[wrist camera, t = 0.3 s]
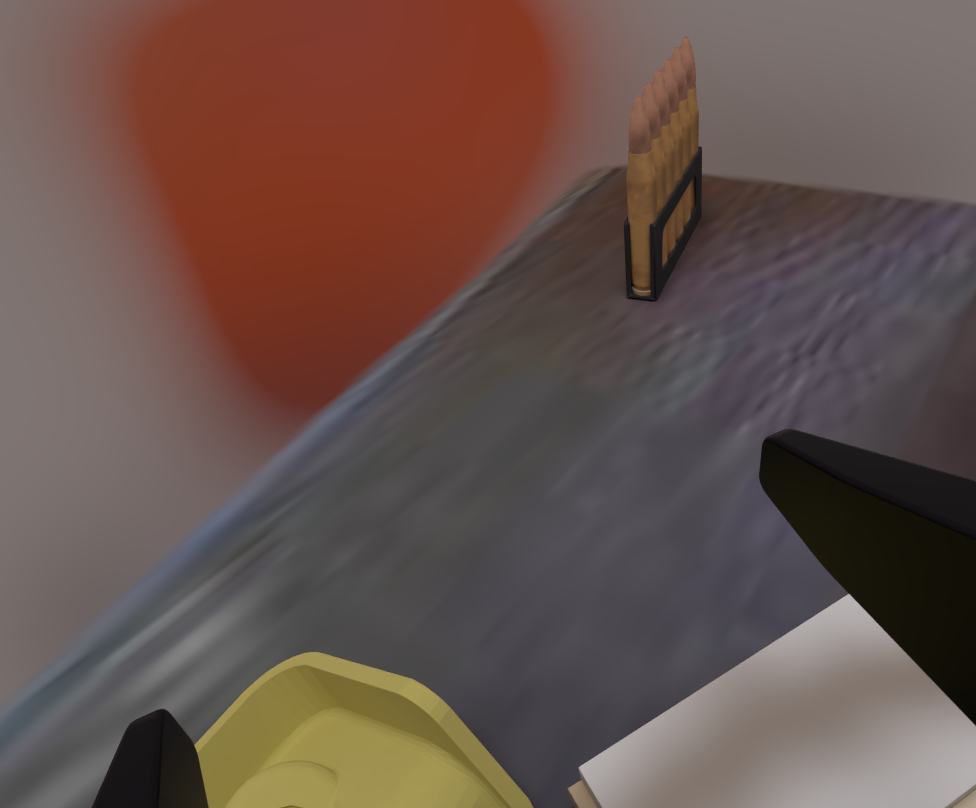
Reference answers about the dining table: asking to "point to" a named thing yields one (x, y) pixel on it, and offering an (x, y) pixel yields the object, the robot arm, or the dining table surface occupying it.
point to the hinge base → (799, 732)
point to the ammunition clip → (662, 175)
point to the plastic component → (347, 744)
